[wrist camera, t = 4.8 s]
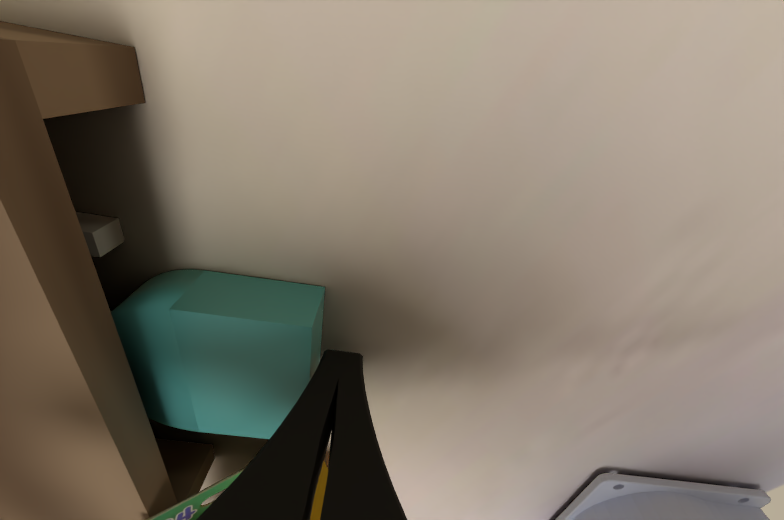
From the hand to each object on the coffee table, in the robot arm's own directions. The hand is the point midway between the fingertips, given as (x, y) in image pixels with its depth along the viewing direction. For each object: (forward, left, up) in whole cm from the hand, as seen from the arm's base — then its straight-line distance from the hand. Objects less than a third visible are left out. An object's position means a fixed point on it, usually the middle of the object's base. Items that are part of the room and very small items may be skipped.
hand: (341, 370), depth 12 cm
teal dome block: (+4, 0, -1) cm, 5 cm away
